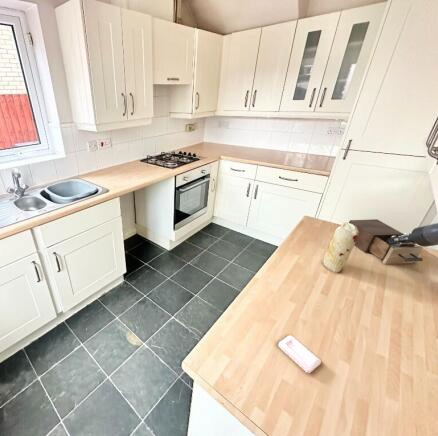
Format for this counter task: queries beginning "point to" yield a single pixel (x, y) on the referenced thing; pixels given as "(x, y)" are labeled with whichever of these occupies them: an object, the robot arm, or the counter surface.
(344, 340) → the counter surface
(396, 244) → the tube
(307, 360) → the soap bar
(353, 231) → the food model
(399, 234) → the cabinet
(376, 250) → the drawer
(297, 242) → the counter surface
